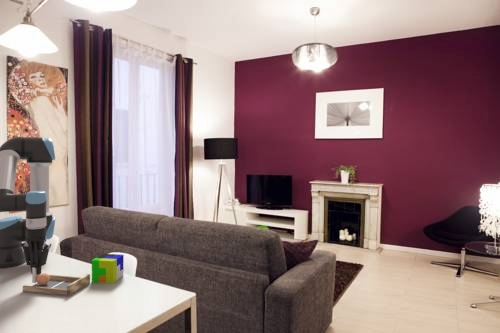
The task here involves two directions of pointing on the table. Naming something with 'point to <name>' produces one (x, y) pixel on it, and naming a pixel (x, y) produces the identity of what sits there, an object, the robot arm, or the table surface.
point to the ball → (43, 279)
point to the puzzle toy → (107, 268)
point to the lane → (56, 286)
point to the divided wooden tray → (70, 289)
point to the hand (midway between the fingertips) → (36, 281)
